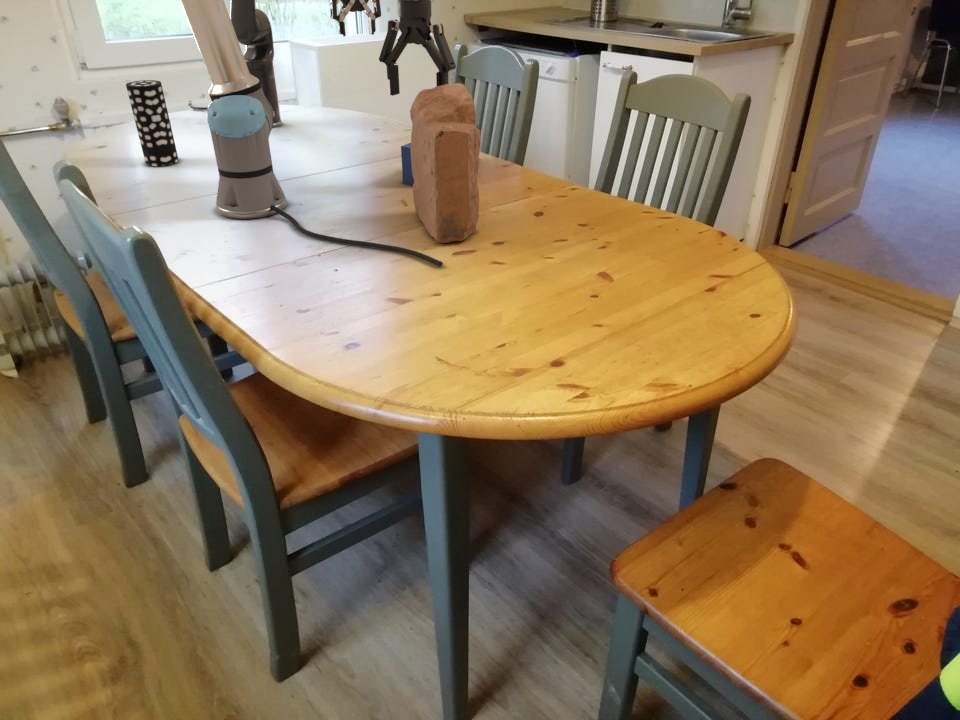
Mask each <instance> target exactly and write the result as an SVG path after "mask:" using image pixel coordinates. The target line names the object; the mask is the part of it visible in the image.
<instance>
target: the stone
mask: <svg viewBox="0 0 960 720" xmlns="http://www.w3.org/2000/svg"><path fill="white" fill-rule="evenodd" d="M409 115H410V120H411V124H412V125H411V133H410V134H411V135H410V143H411V163H412V175H413V178H414V184H413V185H412V193H413V195H412V196H413V205H414V209H415V212H416V214H417V215H418V217H419V219H420V221H421V223H422V224H423V225H424V227H425V230H426V231H427V232H428V234H429V235H430V237H432V238H434V240H435V242H437V243H439V244H447V243H451V242H462V241H464V240H467V239H468V238H469V237H470V235H472V234H474V233H475V232H476V229H477V224H478V221H479V218H480V217H479V216H480V215H479V207H480V192H479V185H478V174H479V164H480V162H479V160H480V159H479V158H480V150H481V139H482V138H481V129H479V128H478V129H477V127H476V125H477V124H476V107H475V103H474V98H473V95H472V93H470V92H469V91H468V88H467V87H466V86H465V84H464V83H460V82H455V83H448V84H445V85H441V86H437V85H436V86H435V87H432V88H424V89H421V91H420V90H419V92H418V93H417V94H416V96H415V98H414V100H413V102H412V104H411V107H410V109H409Z"/></svg>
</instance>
